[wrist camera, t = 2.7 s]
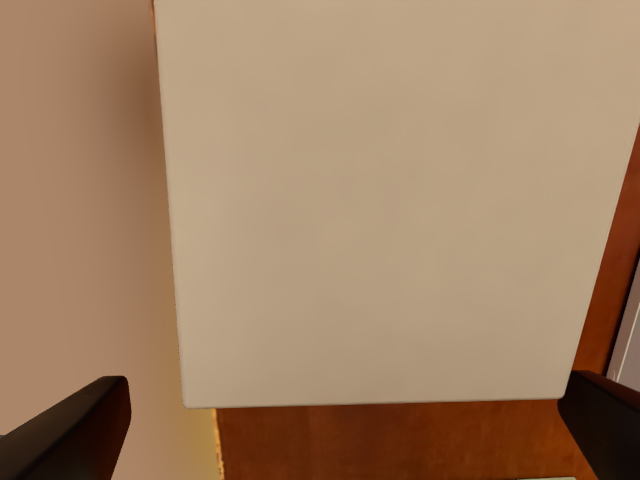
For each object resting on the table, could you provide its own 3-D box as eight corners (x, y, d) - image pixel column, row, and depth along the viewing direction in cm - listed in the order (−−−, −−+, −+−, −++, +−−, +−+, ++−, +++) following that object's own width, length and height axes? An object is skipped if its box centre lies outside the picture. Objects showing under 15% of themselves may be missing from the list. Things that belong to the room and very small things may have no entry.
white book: (200, 358, 6) (180, 412, 5) (170, -194, 4) (127, -317, 3) (517, 353, 7) (566, 401, 6) (628, -136, 5) (739, -219, 4)
